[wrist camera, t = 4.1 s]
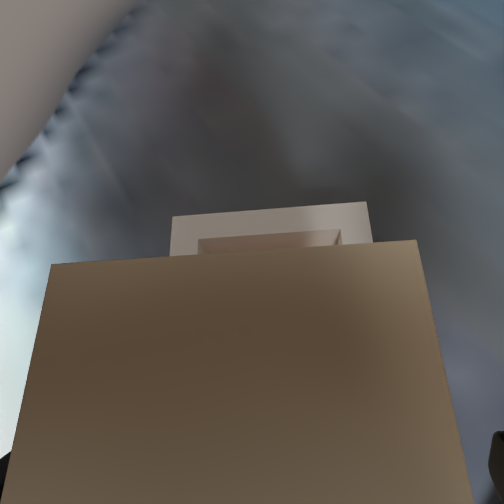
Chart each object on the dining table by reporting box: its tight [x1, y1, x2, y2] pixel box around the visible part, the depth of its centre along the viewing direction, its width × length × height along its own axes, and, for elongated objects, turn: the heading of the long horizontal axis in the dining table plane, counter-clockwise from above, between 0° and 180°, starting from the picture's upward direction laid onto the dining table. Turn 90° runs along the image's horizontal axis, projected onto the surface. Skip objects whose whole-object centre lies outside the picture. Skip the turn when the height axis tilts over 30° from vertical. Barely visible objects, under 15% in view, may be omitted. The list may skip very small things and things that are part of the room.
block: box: [0, 240, 474, 504], centre depth 9 cm, size 5×5×12 cm
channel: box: [170, 201, 373, 256], centre depth 15 cm, size 13×8×2 cm, turn 1°
